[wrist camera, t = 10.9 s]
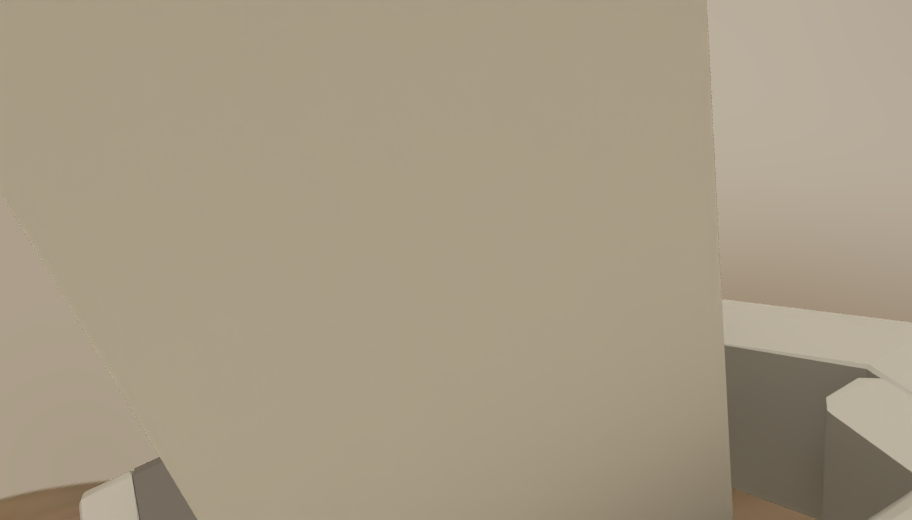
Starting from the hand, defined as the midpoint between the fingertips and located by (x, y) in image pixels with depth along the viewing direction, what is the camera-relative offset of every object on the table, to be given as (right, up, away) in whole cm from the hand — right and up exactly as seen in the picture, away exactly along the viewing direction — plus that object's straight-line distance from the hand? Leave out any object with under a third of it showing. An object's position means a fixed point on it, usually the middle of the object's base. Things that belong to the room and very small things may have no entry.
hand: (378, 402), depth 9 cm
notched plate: (+2, -6, +3) cm, 8 cm away
